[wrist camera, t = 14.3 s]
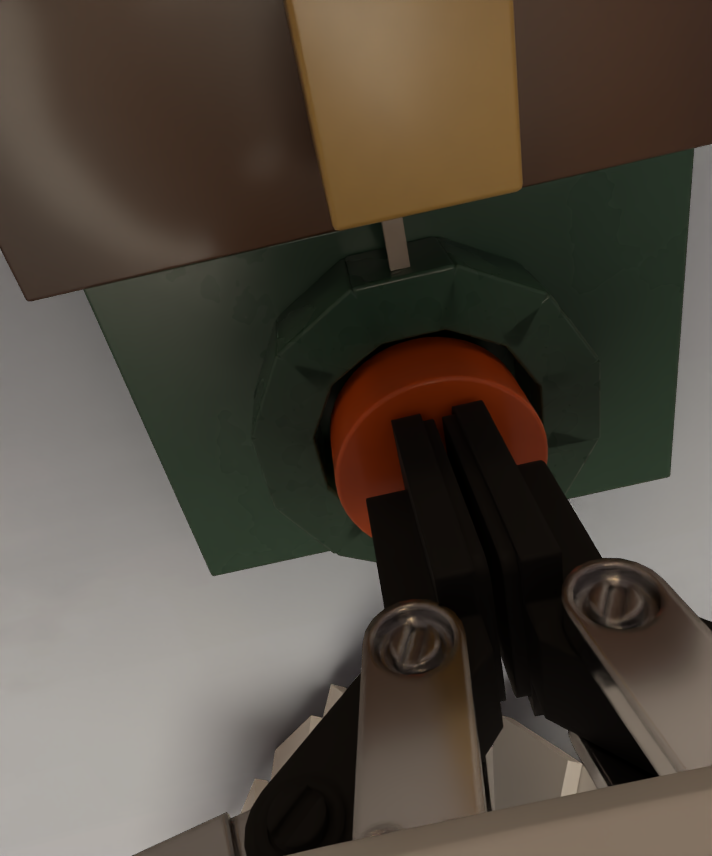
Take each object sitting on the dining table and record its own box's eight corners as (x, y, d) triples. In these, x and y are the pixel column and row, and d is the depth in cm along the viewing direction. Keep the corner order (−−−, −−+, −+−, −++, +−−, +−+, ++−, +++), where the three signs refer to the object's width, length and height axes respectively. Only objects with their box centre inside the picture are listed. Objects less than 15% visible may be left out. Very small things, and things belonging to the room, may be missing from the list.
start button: (351, 517, 15) (358, 572, 13) (309, 360, 13) (312, 406, 11) (526, 478, 15) (553, 530, 13) (514, 313, 12) (545, 354, 11)
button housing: (217, 534, 18) (204, 632, 15) (100, 260, 14) (53, 324, 11) (640, 441, 18) (710, 524, 15) (652, 132, 14) (754, 162, 11)
